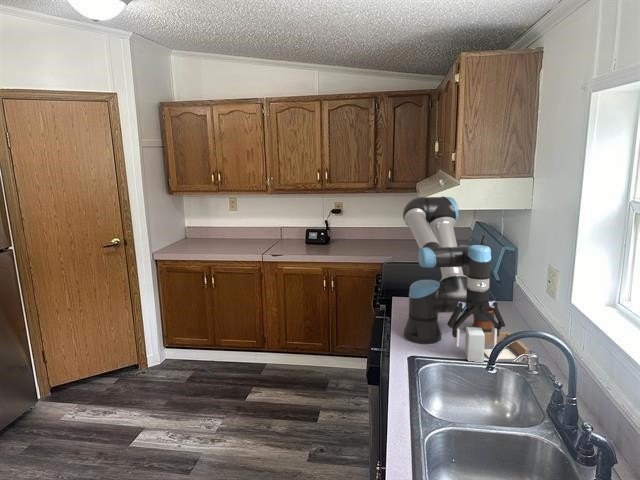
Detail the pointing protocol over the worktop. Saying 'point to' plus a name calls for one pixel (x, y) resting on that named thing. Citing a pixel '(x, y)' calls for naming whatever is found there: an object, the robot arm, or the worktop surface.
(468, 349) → the small box
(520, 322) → the worktop surface
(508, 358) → the brown piece
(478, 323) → the mug
